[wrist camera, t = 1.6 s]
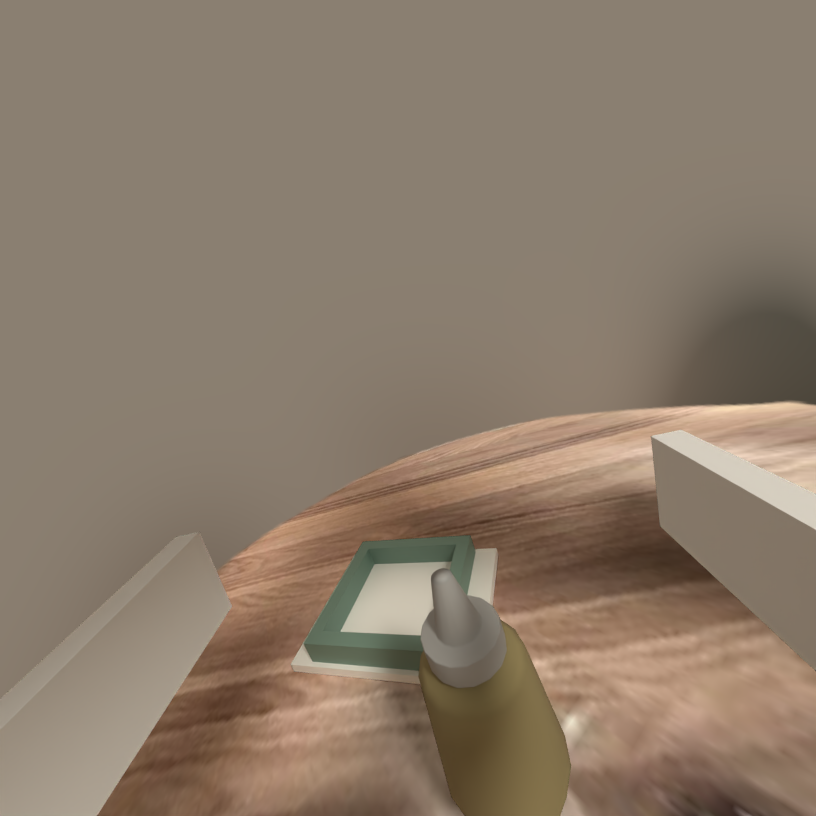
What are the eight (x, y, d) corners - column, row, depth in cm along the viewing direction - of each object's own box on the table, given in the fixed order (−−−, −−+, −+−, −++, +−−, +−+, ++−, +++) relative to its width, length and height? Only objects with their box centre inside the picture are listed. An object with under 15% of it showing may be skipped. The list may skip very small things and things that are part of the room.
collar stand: (498, 554, 46) (491, 531, 45) (482, 690, 32) (472, 660, 31) (357, 560, 53) (348, 540, 52) (294, 671, 39) (280, 646, 38)
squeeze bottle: (437, 768, 28) (352, 574, 23) (521, 698, 30) (462, 510, 25) (507, 920, 20) (405, 684, 15) (611, 810, 23) (553, 577, 18)
